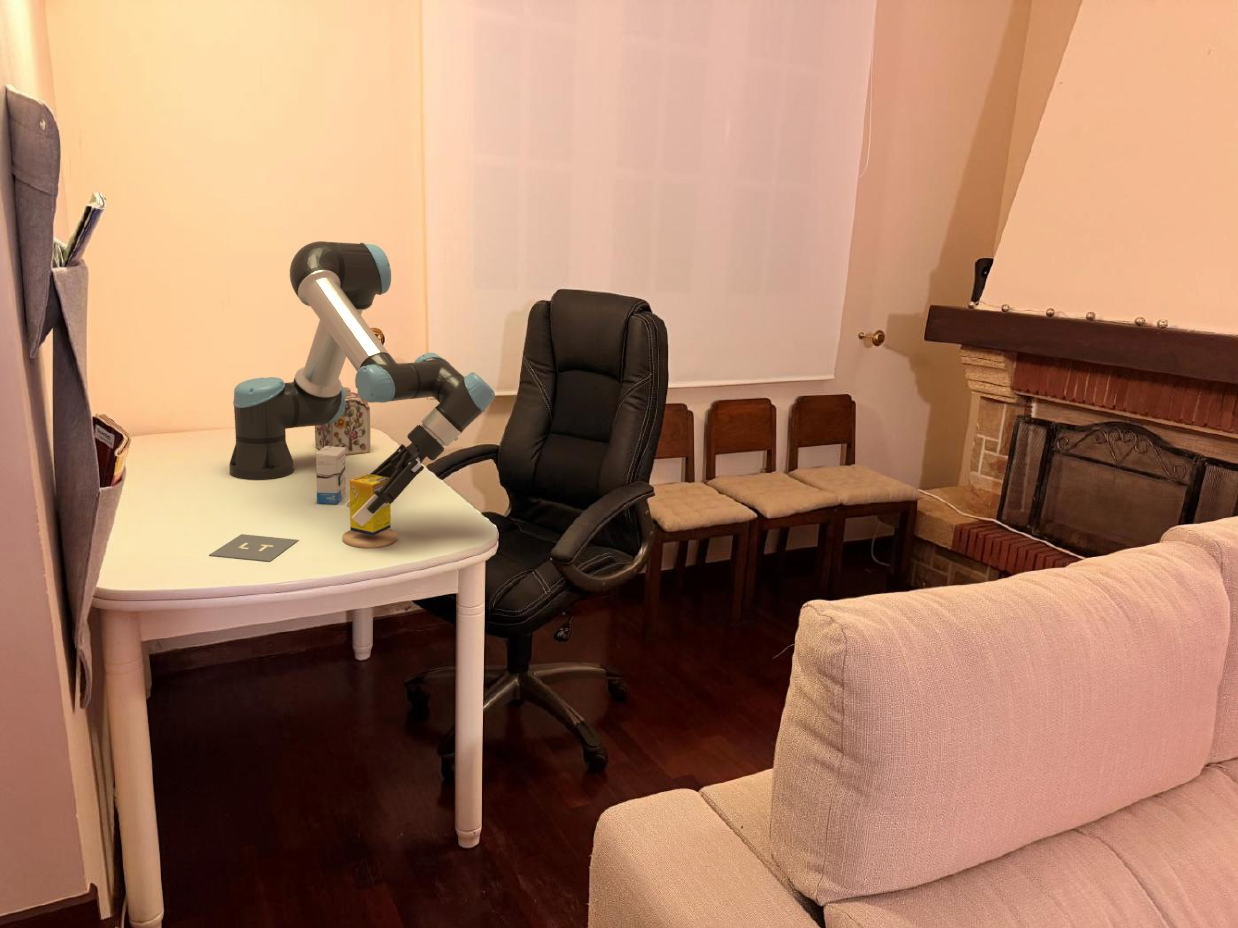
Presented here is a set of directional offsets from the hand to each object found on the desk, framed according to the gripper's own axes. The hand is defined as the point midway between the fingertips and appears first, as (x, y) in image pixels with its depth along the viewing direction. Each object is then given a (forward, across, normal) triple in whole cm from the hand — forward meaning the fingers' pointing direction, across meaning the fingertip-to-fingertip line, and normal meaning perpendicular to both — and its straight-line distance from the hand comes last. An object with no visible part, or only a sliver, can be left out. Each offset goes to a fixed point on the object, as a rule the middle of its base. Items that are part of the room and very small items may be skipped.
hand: (353, 515), depth 176 cm
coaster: (+1, 0, -6) cm, 6 cm away
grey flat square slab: (+17, 0, +9) cm, 19 cm away
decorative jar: (-1, +74, -9) cm, 74 cm away
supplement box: (0, 0, -5) cm, 5 cm away
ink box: (+5, +29, -3) cm, 29 cm away
